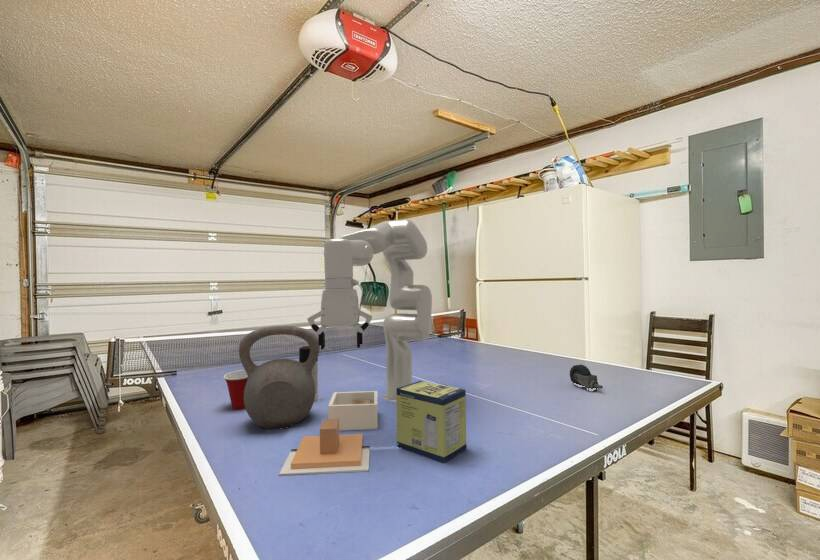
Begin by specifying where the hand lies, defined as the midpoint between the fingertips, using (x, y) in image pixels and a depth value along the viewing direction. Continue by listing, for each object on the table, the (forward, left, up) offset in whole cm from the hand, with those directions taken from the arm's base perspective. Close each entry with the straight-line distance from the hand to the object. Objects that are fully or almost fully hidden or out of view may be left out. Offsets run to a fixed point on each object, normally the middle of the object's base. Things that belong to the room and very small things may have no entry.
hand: (340, 347), depth 105 cm
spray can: (+15, -37, -26) cm, 48 cm away
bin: (-3, -13, -26) cm, 29 cm away
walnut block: (-4, -14, -25) cm, 29 cm away
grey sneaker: (-93, -42, -26) cm, 105 cm away
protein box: (-24, +6, -26) cm, 36 cm away
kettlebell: (+20, -17, -26) cm, 37 cm away
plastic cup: (+38, -34, -26) cm, 57 cm away
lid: (+2, +7, -25) cm, 26 cm away
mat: (+2, +7, -26) cm, 27 cm away
